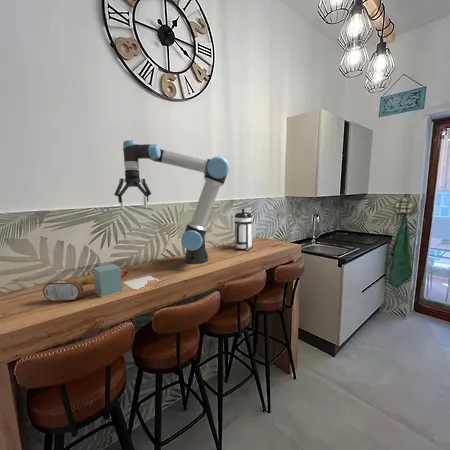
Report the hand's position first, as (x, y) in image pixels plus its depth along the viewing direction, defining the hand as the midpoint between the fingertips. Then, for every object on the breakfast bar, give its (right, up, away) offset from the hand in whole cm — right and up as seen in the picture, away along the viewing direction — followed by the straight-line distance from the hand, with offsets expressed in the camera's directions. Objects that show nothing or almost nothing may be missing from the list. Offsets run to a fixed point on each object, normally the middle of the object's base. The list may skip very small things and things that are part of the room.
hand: (134, 208), depth 148 cm
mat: (+11, -38, -21) cm, 45 cm away
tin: (-16, -41, -40) cm, 59 cm away
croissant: (-9, -38, -15) cm, 42 cm away
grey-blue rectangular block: (-1, -39, -31) cm, 50 cm away
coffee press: (+65, -28, +46) cm, 84 cm away
